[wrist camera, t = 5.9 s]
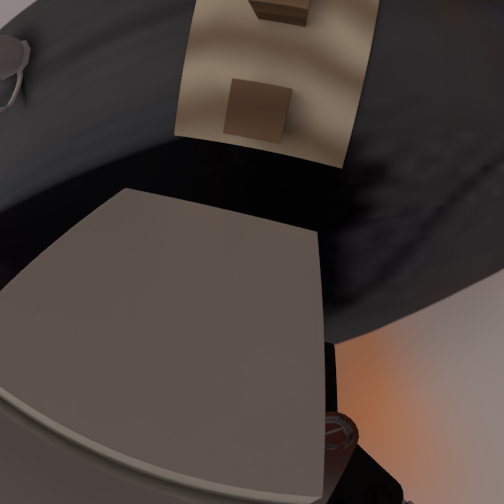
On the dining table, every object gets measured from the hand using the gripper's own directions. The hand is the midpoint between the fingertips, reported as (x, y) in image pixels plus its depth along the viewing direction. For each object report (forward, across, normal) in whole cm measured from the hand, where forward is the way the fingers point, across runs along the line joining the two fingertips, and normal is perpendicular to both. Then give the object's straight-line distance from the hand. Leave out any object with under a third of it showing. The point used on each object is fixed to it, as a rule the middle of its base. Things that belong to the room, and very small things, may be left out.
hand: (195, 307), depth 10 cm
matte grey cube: (+1, 0, 0) cm, 1 cm away
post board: (+18, +1, -10) cm, 21 cm away
